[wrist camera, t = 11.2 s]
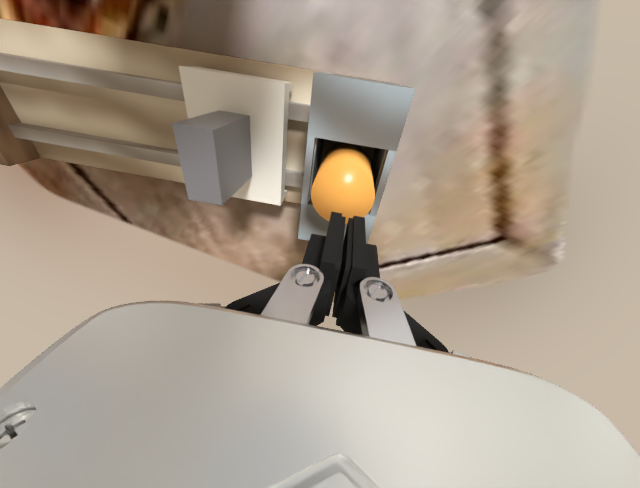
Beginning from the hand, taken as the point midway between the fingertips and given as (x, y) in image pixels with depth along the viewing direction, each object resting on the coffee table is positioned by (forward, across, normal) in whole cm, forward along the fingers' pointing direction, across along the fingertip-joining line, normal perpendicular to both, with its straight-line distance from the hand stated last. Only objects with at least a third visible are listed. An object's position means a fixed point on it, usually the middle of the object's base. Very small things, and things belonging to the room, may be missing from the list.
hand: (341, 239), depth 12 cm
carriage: (+13, +10, -1) cm, 16 cm away
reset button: (+9, 0, -1) cm, 9 cm away
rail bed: (+15, +17, -1) cm, 22 cm away
